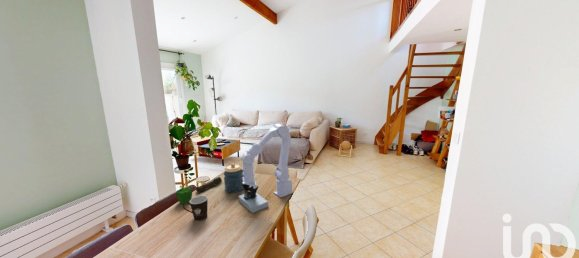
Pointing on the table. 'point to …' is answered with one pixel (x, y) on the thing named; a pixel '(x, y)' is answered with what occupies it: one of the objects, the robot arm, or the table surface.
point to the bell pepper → (184, 195)
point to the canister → (233, 178)
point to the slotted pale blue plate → (254, 203)
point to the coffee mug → (198, 207)
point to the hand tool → (209, 184)
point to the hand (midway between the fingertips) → (250, 195)
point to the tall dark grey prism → (247, 195)
